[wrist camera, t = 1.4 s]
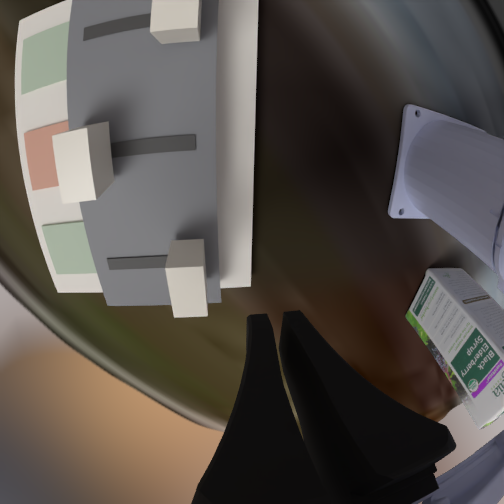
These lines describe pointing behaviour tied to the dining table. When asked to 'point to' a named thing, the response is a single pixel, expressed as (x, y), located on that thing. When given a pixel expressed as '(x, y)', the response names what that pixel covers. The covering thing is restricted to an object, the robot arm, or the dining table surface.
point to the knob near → (176, 20)
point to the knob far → (187, 278)
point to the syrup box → (463, 338)
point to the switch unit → (141, 143)
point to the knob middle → (83, 162)
